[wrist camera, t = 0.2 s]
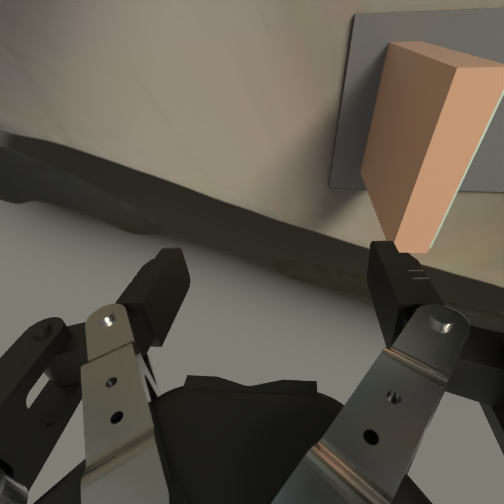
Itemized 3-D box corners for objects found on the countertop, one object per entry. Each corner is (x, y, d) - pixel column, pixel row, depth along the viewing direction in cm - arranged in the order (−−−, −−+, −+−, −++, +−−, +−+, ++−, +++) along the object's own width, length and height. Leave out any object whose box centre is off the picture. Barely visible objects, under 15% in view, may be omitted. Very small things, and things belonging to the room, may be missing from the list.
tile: (360, 172, 33) (390, 251, 22) (388, 42, 25) (457, 67, 14) (386, 172, 32) (431, 253, 22) (424, 40, 25) (521, 66, 14)
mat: (328, 185, 35) (329, 187, 34) (354, 14, 24) (355, 14, 24) (538, 190, 32) (541, 192, 32) (667, 0, 22) (674, 0, 21)
